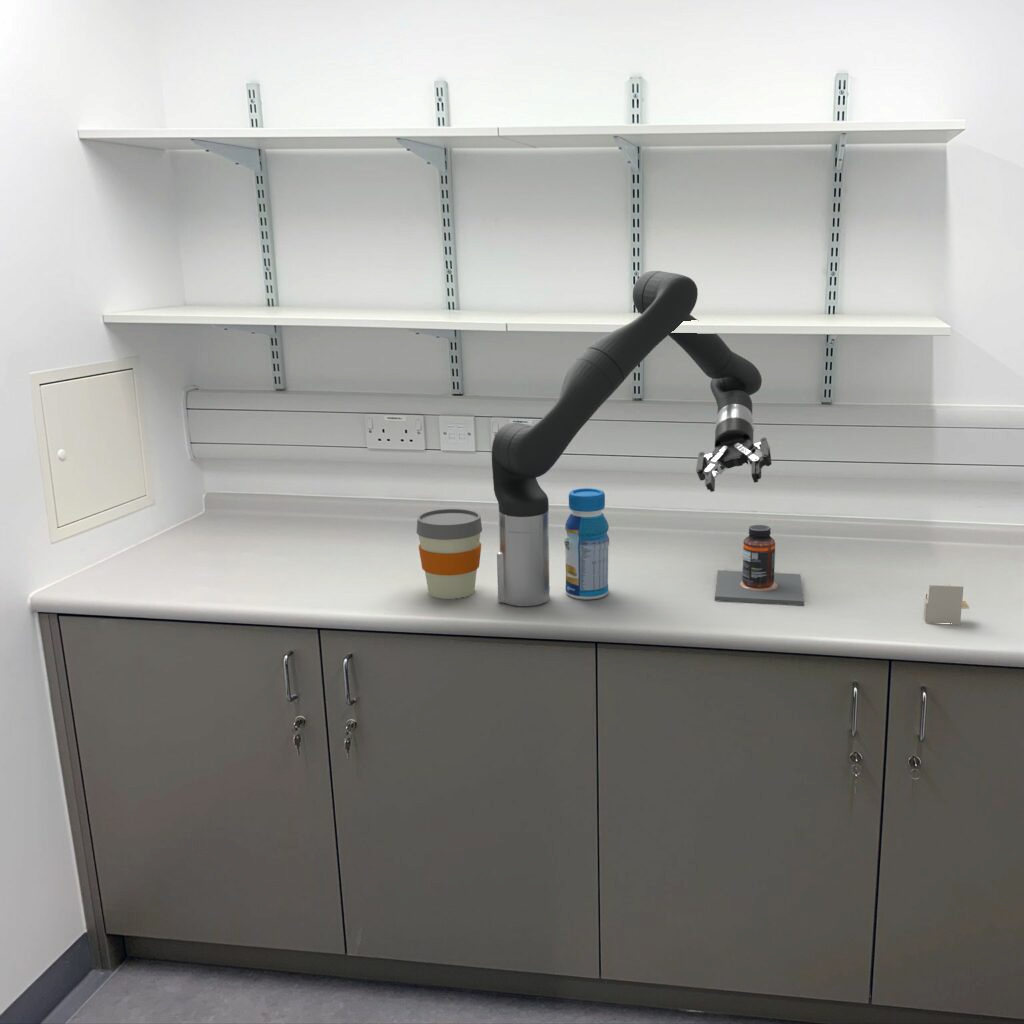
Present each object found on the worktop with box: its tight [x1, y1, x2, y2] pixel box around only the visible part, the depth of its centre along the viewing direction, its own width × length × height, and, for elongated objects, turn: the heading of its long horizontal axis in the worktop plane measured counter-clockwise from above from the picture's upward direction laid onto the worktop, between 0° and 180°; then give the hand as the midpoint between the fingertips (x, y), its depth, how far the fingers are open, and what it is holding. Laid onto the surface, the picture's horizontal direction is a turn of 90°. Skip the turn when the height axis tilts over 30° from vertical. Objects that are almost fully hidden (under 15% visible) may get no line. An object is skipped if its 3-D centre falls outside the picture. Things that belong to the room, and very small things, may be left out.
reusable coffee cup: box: [416, 508, 483, 600], centre depth 201 cm, size 13×13×15 cm
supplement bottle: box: [742, 524, 776, 588], centre depth 199 cm, size 6×6×11 cm
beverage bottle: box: [563, 487, 610, 601], centre depth 198 cm, size 8×8×20 cm
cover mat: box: [714, 569, 805, 606], centre depth 201 cm, size 16×16×1 cm
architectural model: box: [922, 582, 970, 625], centre depth 182 cm, size 3×7×7 cm, turn 79°
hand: (732, 483), depth 200 cm, fingers open, 8 cm apart
